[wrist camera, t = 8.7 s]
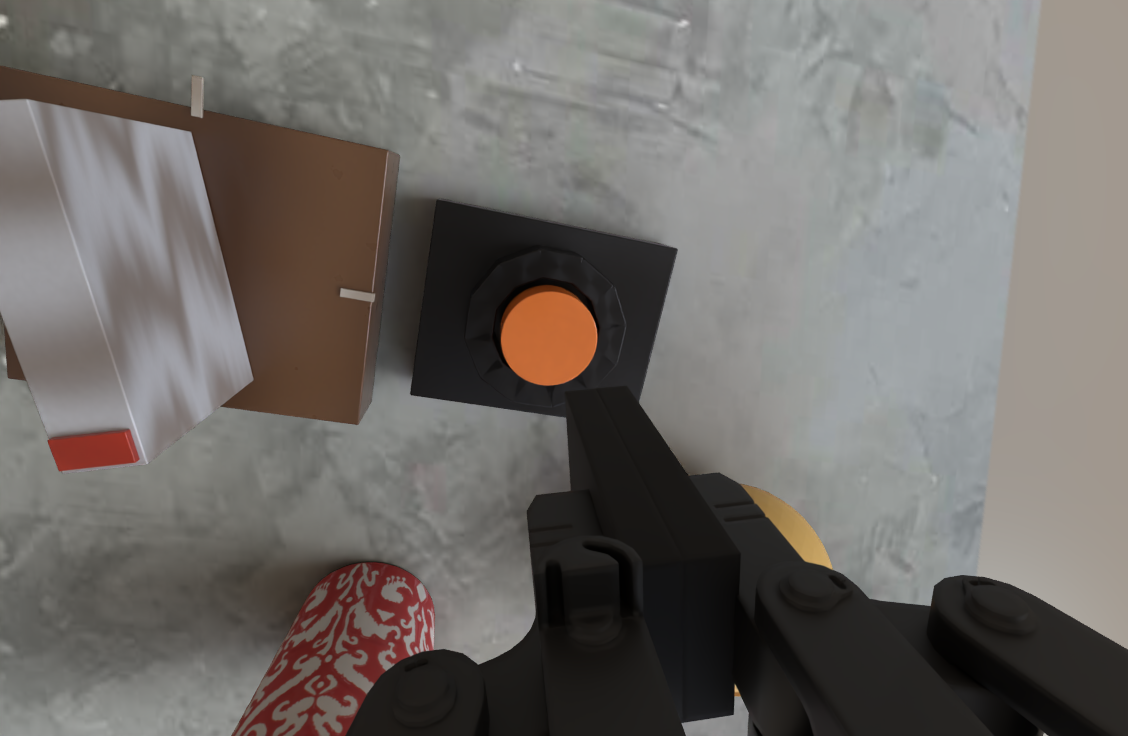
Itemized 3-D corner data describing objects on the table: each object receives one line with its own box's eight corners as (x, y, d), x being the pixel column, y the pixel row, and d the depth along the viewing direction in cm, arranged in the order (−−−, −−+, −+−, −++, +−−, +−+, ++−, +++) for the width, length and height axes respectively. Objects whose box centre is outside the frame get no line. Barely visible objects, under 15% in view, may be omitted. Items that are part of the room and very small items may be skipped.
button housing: (415, 380, 28) (404, 409, 25) (440, 198, 26) (432, 199, 22) (623, 411, 30) (642, 442, 27) (664, 244, 28) (691, 252, 24)
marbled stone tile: (124, 135, 21) (-92, 102, 13) (191, 131, 21) (18, 96, 14) (196, 385, 24) (55, 478, 16) (254, 379, 24) (143, 469, 17)
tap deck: (58, 380, 26) (2, 404, 23) (43, 47, 22) (-26, 25, 19) (371, 422, 29) (357, 449, 26) (405, 129, 25) (394, 121, 22)
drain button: (493, 365, 25) (493, 378, 23) (508, 276, 24) (510, 283, 22) (580, 379, 26) (586, 392, 24) (599, 293, 25) (607, 301, 23)
